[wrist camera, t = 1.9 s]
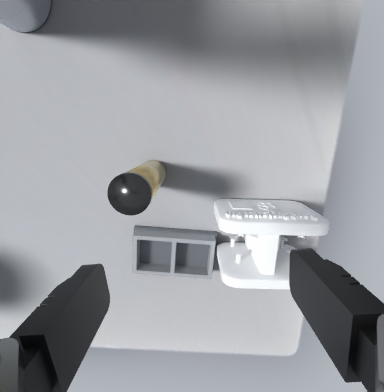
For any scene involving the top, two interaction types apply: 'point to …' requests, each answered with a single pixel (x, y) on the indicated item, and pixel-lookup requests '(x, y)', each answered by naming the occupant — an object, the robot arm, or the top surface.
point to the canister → (136, 187)
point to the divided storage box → (173, 252)
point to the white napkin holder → (262, 239)
